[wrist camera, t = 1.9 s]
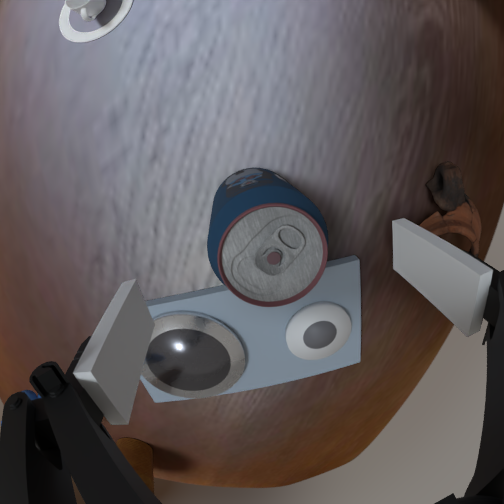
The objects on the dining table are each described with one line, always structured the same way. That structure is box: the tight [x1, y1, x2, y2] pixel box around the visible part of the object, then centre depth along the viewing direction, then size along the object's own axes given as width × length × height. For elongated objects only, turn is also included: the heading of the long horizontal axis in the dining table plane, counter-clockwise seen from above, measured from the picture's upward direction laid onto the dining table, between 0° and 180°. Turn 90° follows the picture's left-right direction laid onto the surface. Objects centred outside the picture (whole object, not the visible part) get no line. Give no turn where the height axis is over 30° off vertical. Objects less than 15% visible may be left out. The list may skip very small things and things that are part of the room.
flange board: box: [140, 255, 361, 403], centre depth 31 cm, size 26×14×2 cm, turn 102°
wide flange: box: [141, 310, 245, 398], centre depth 30 cm, size 12×12×1 cm
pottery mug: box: [419, 161, 481, 258], centre depth 26 cm, size 12×10×8 cm
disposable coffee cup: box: [116, 438, 154, 494], centre depth 34 cm, size 10×10×12 cm
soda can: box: [207, 168, 328, 307], centre depth 21 cm, size 7×7×12 cm
